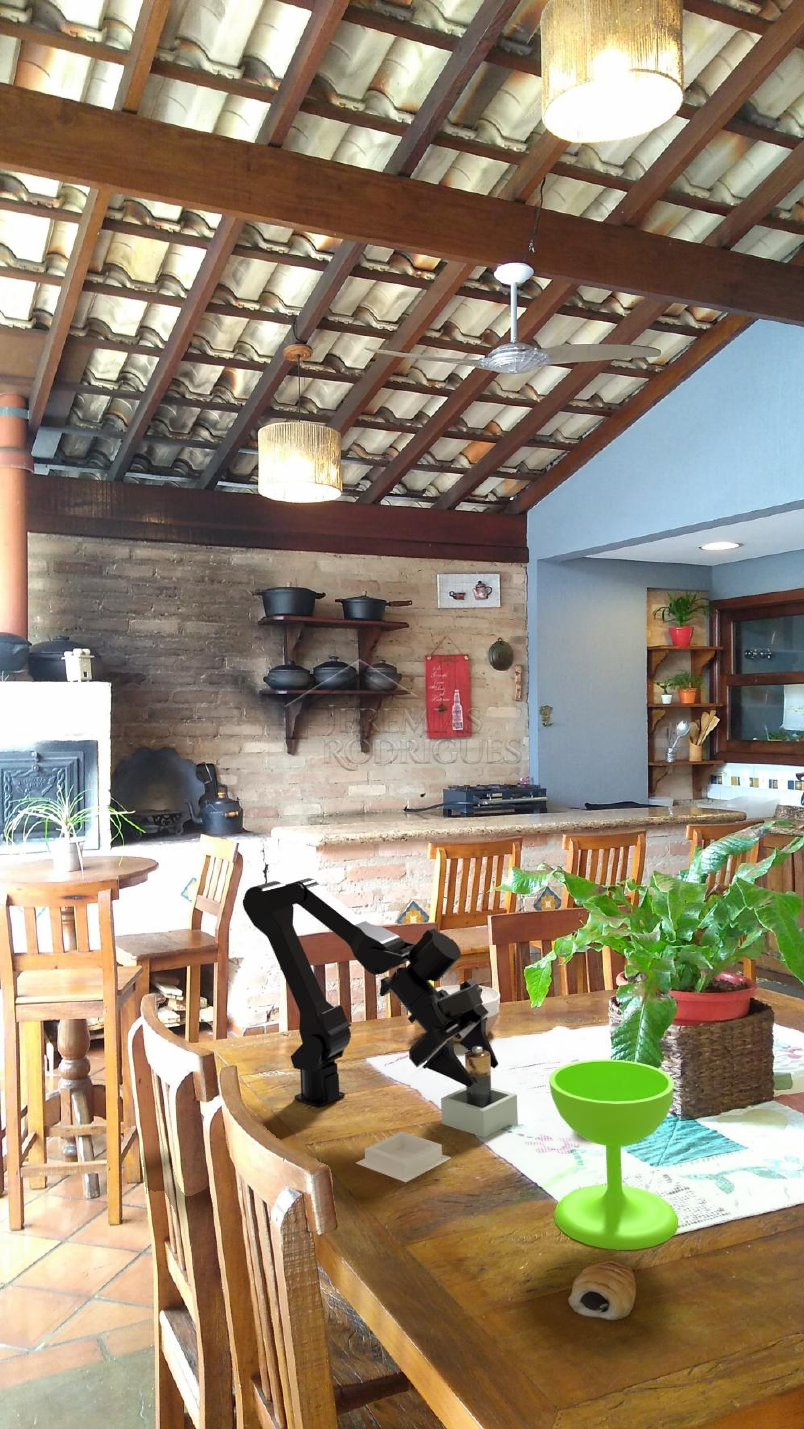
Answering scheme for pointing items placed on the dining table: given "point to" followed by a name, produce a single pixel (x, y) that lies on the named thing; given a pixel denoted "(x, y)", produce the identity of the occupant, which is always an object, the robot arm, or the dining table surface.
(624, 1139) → the wineglass
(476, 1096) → the cell
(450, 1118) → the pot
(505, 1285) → the dining table surface
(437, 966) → the robot arm
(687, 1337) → the dining table surface
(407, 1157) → the cradle
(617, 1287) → the pastry
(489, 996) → the bowl
